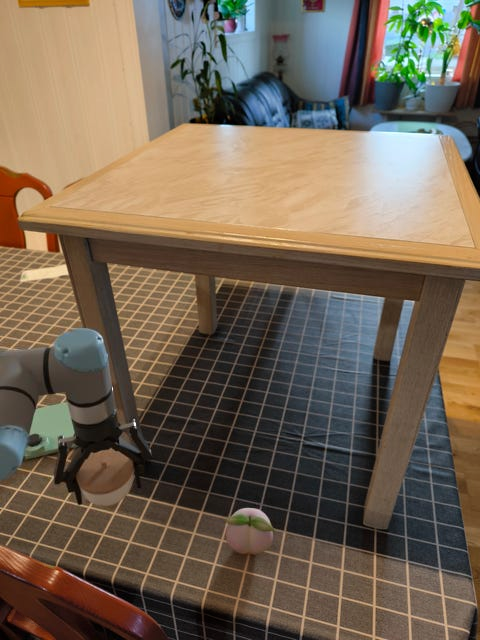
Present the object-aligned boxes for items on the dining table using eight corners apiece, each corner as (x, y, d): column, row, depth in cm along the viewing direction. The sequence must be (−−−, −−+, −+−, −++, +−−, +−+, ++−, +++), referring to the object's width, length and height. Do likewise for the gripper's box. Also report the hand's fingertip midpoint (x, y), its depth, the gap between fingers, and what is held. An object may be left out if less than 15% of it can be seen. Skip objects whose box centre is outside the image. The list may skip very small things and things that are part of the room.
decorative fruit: (271, 527, 92) (274, 497, 87) (272, 566, 85) (275, 537, 80) (226, 525, 93) (226, 495, 87) (223, 564, 86) (223, 534, 80)
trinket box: (106, 463, 95) (100, 432, 90) (147, 482, 91) (143, 451, 86) (70, 502, 87) (61, 471, 82) (113, 525, 83) (107, 494, 78)
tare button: (28, 448, 105) (26, 443, 104) (28, 439, 107) (27, 435, 106) (41, 445, 106) (39, 440, 105) (41, 436, 108) (39, 432, 107)
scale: (24, 463, 105) (21, 453, 103) (27, 416, 118) (23, 406, 116) (104, 443, 110) (102, 433, 108) (98, 400, 123) (96, 391, 121)
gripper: (155, 383, 83) (163, 461, 95) (21, 411, 76) (47, 491, 88) (164, 410, 77) (170, 489, 89) (19, 443, 70) (47, 524, 82)
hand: (109, 490), depth 89 cm, fingers closed on trinket box, 11 cm apart
